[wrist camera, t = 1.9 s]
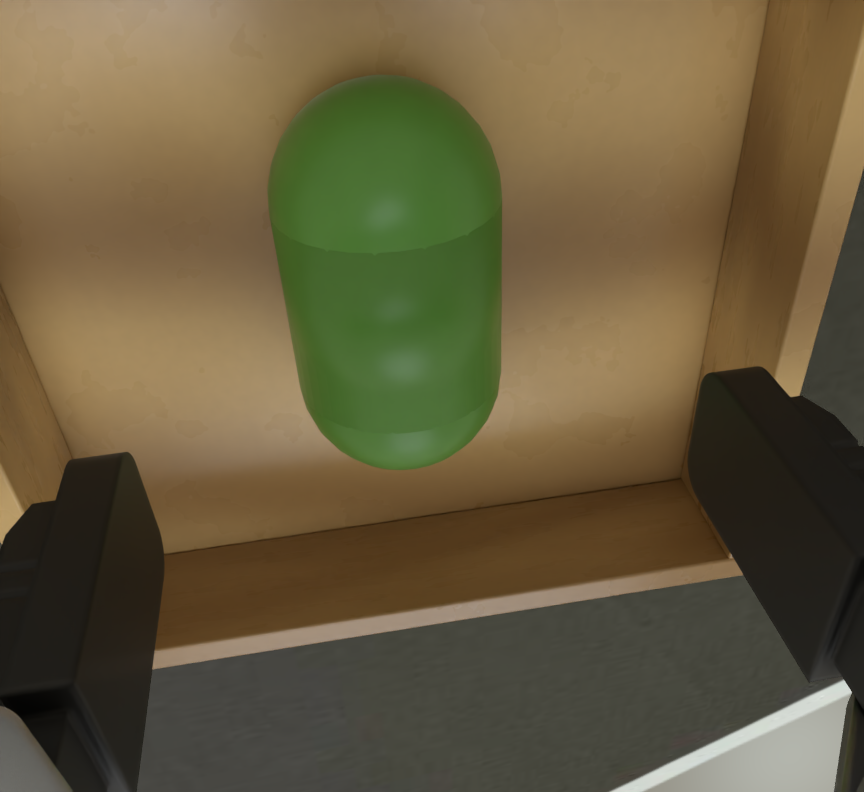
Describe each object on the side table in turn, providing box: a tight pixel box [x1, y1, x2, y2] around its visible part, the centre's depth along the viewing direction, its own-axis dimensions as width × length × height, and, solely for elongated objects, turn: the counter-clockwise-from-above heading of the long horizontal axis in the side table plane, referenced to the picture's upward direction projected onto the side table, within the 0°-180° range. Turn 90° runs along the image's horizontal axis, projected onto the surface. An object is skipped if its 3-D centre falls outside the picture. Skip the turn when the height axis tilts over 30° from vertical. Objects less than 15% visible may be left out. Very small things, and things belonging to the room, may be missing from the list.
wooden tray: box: [0, 0, 864, 669], centre depth 16 cm, size 17×16×4 cm
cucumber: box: [267, 75, 502, 470], centre depth 15 cm, size 8×4×4 cm, turn 3°
